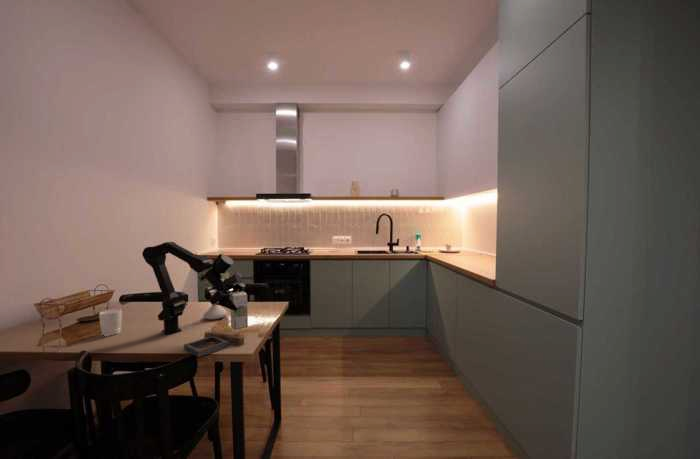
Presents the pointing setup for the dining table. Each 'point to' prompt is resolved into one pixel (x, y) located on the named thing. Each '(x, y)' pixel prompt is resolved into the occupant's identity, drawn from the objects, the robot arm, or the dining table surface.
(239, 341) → the walnut rail
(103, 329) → the white cup
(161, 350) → the dining table surface
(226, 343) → the keeper frame
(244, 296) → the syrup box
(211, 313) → the flower in vase
